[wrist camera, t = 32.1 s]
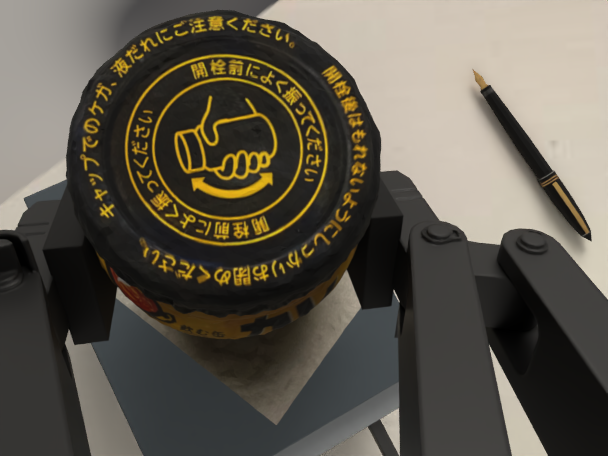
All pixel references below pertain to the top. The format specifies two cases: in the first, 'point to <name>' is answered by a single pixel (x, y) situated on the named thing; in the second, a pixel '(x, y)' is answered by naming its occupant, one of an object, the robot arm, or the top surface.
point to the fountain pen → (536, 161)
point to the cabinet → (220, 398)
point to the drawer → (352, 427)
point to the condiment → (229, 194)
